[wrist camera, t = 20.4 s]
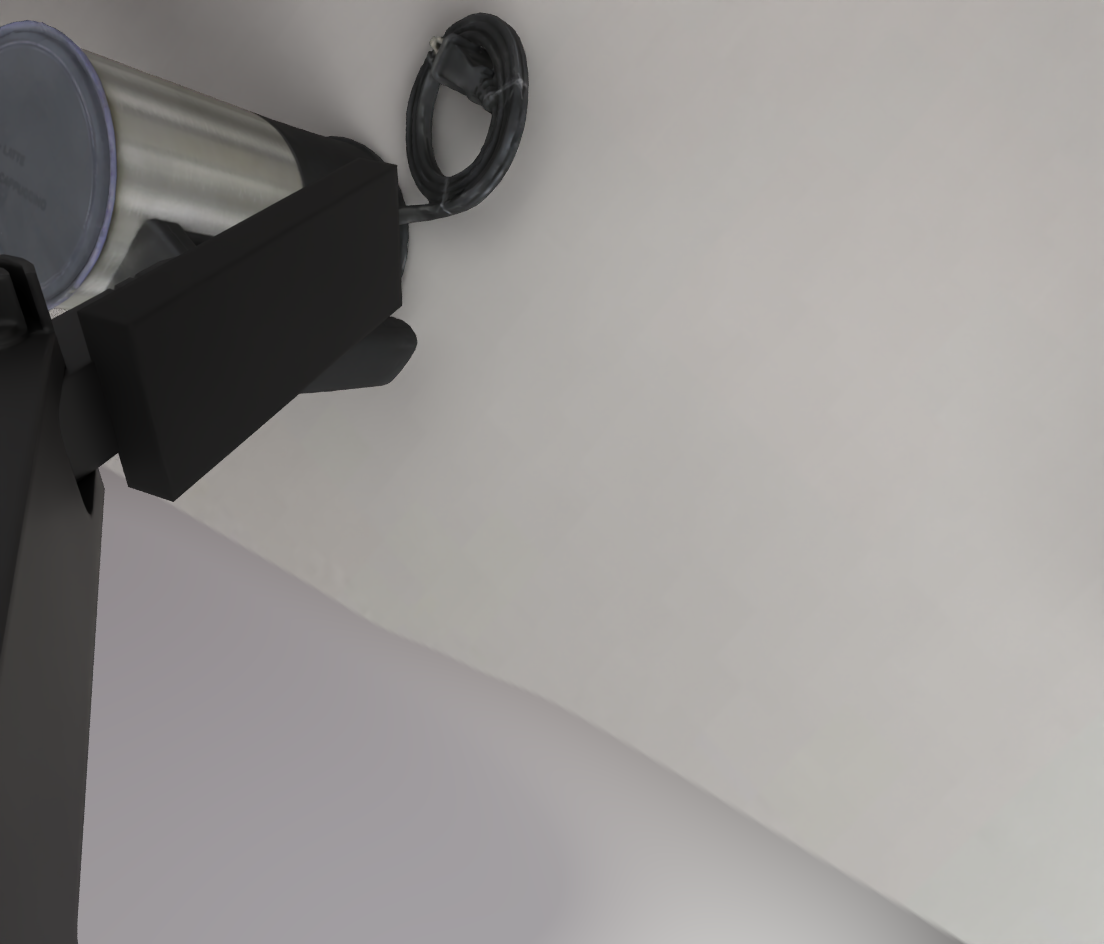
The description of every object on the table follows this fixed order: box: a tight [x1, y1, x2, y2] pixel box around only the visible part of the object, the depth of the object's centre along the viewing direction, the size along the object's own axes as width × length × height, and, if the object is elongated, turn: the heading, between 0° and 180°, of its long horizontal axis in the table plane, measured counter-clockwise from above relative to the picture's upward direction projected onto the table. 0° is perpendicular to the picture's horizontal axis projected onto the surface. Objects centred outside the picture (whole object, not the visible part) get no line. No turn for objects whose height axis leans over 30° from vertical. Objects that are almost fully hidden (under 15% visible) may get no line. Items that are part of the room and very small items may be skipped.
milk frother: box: [0, 13, 529, 394], centre depth 32 cm, size 14×16×15 cm
